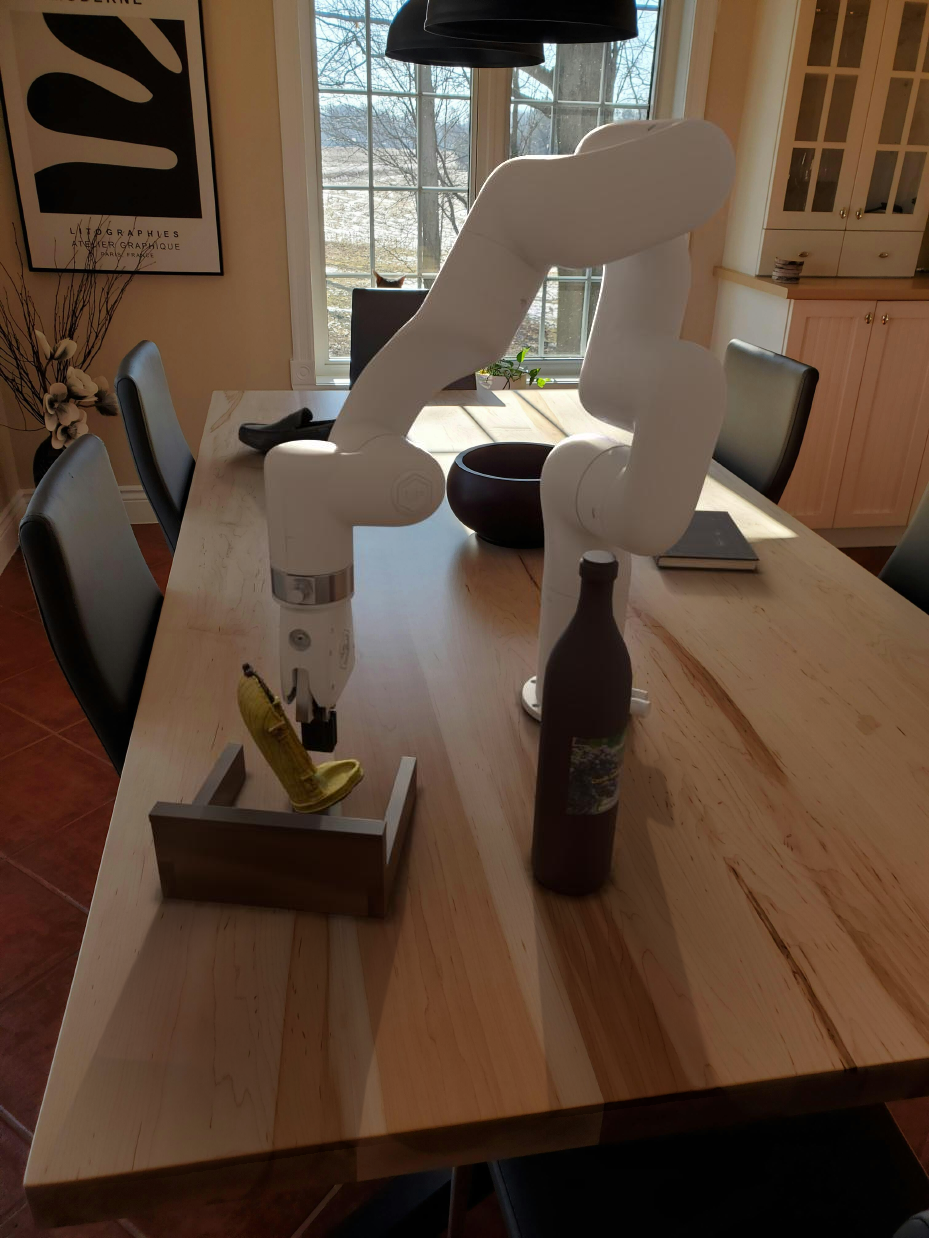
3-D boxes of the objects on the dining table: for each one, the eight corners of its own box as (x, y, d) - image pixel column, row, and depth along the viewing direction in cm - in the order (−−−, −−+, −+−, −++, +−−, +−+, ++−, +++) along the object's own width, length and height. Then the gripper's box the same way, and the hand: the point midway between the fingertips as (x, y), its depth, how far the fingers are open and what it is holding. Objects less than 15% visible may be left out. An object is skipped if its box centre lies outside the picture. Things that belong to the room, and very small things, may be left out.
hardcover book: (725, 523, 164) (727, 511, 163) (757, 572, 143) (759, 559, 142) (637, 520, 164) (639, 508, 163) (656, 568, 144) (658, 555, 143)
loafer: (248, 443, 206) (244, 398, 201) (372, 450, 202) (371, 405, 198) (231, 455, 196) (227, 408, 192) (361, 463, 193) (360, 415, 189)
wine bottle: (554, 906, 76) (582, 580, 63) (516, 854, 82) (535, 546, 68) (625, 884, 78) (666, 567, 65) (584, 835, 84) (614, 535, 71)
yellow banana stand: (236, 825, 84) (220, 687, 78) (259, 774, 92) (247, 643, 85) (357, 832, 84) (352, 694, 77) (371, 780, 91) (367, 650, 85)
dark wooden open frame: (232, 775, 91) (224, 700, 88) (416, 790, 90) (416, 715, 86) (161, 898, 76) (147, 814, 72) (384, 919, 74) (382, 835, 70)
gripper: (332, 617, 75) (338, 796, 83) (370, 552, 88) (372, 712, 96) (245, 609, 76) (259, 788, 84) (296, 547, 89) (304, 705, 97)
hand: (320, 747), depth 90 cm, fingers closed
